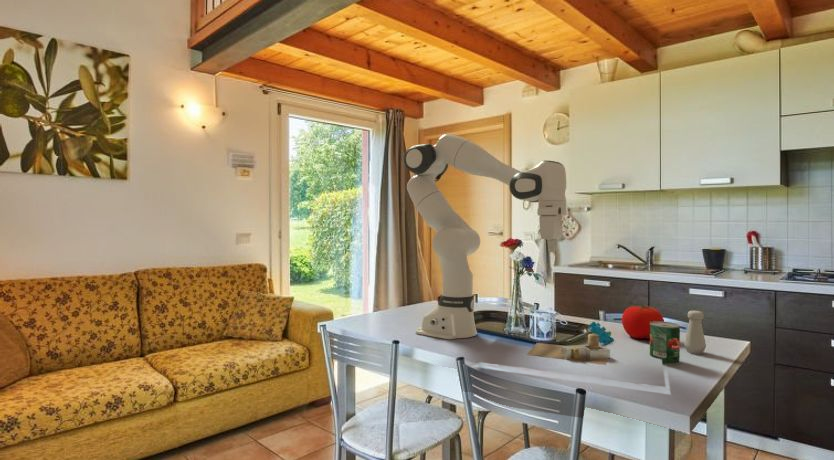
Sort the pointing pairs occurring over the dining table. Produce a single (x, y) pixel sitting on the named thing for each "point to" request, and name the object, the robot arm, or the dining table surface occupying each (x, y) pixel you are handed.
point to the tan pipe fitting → (585, 352)
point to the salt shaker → (695, 333)
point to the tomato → (640, 320)
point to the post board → (555, 351)
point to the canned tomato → (665, 342)
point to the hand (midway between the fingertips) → (552, 252)
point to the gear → (601, 333)
